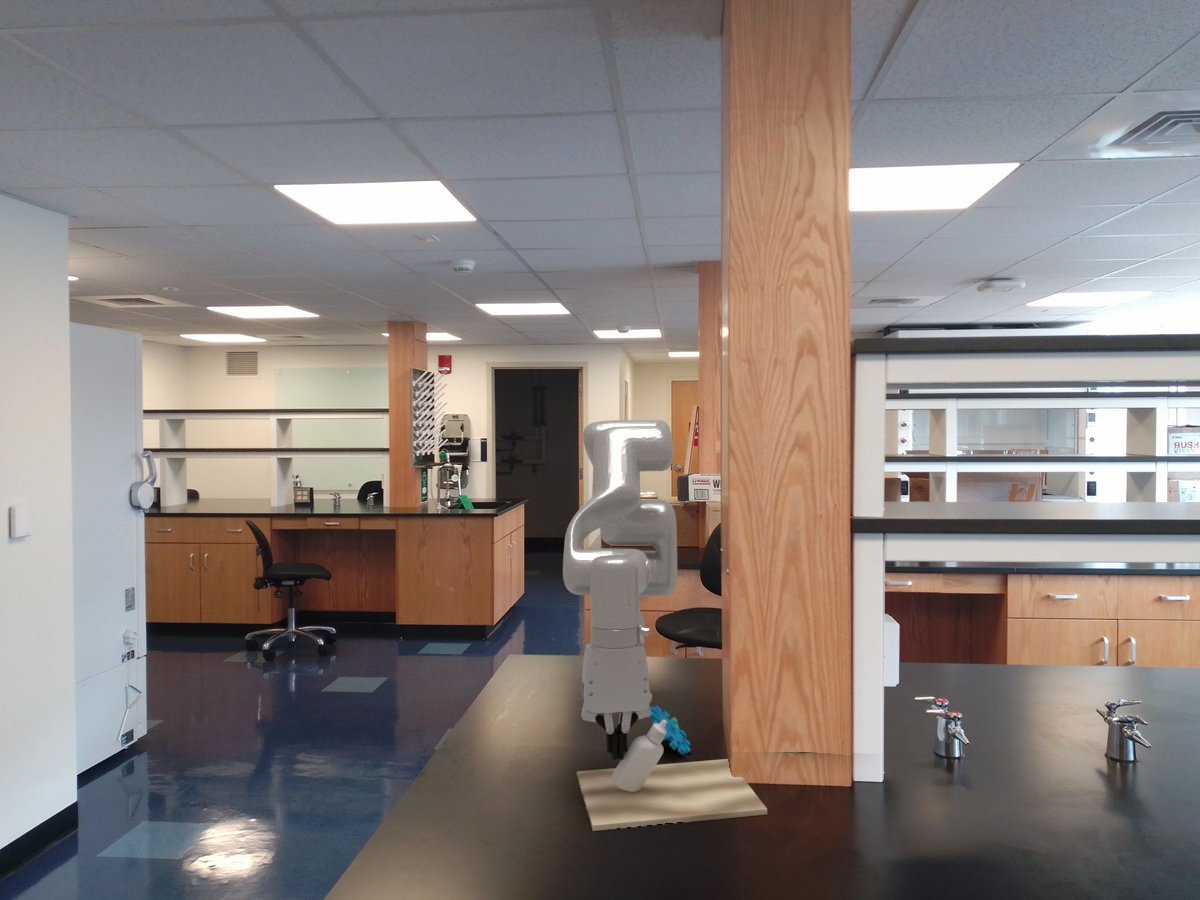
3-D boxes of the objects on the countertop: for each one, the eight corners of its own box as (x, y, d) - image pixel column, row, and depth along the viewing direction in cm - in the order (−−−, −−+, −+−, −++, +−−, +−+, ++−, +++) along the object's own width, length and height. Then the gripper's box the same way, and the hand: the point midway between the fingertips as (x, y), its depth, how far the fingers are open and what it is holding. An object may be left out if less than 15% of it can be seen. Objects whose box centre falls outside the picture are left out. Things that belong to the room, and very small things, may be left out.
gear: (687, 756, 132) (647, 709, 135) (663, 779, 133) (623, 732, 136) (699, 740, 143) (661, 697, 146) (676, 761, 144) (639, 718, 147)
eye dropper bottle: (607, 768, 123) (647, 705, 121) (638, 783, 124) (677, 721, 122) (610, 784, 118) (651, 720, 117) (642, 800, 119) (683, 736, 118)
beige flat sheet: (576, 776, 129) (576, 771, 129) (728, 763, 133) (728, 758, 133) (592, 831, 111) (592, 825, 111) (767, 814, 115) (767, 809, 115)
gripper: (657, 629, 125) (659, 744, 125) (564, 633, 123) (565, 751, 122) (668, 640, 117) (670, 762, 117) (569, 645, 115) (570, 770, 115)
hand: (616, 756), depth 120 cm, fingers closed
